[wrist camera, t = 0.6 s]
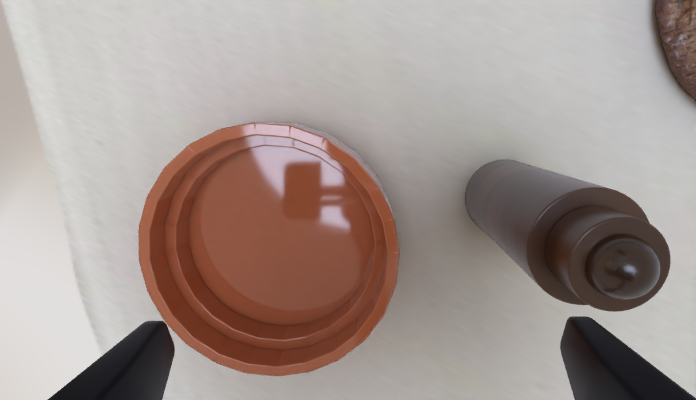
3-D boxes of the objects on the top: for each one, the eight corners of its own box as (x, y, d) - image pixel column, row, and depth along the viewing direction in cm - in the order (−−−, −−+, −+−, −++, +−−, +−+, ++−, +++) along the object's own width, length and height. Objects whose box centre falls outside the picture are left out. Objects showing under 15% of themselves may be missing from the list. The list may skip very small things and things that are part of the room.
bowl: (313, 376, 27) (304, 420, 23) (134, 260, 26) (93, 285, 23) (439, 208, 25) (452, 225, 21) (247, 75, 24) (223, 67, 20)
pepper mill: (508, 246, 25) (646, 373, 13) (449, 205, 25) (530, 294, 12) (555, 187, 24) (752, 260, 12) (495, 144, 24) (632, 173, 12)
